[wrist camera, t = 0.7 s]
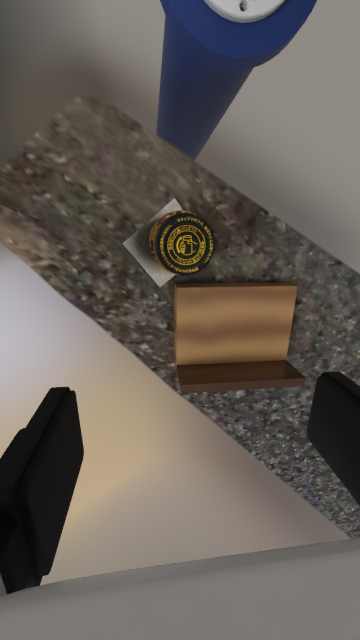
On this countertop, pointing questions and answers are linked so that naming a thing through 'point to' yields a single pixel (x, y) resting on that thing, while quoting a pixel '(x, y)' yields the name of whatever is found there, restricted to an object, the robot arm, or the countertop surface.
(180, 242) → the condiment
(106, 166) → the countertop surface
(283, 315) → the shelf
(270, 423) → the countertop surface
